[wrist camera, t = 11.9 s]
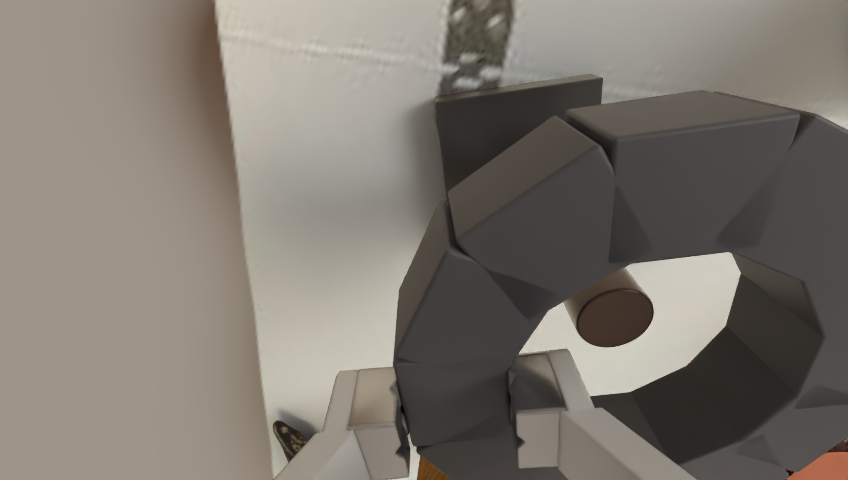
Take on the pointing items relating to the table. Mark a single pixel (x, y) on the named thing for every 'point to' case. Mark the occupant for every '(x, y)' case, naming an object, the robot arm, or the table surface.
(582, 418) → the robot arm
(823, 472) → the teapot
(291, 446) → the statue
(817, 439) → the grey stone ring
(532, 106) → the tape post
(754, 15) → the table surface
